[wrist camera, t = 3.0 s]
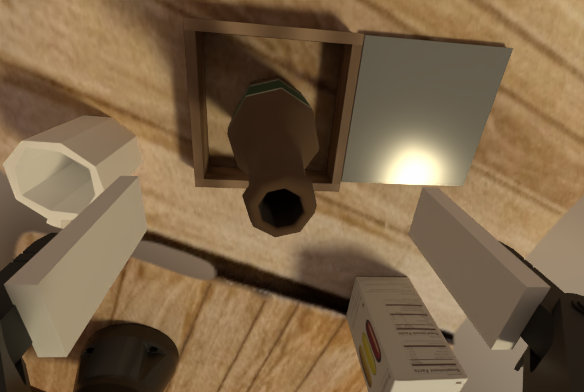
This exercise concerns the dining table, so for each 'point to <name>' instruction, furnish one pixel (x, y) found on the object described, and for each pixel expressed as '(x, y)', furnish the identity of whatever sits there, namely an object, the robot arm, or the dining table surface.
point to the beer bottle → (275, 155)
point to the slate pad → (420, 110)
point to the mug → (71, 166)
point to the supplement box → (399, 339)
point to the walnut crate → (196, 27)
